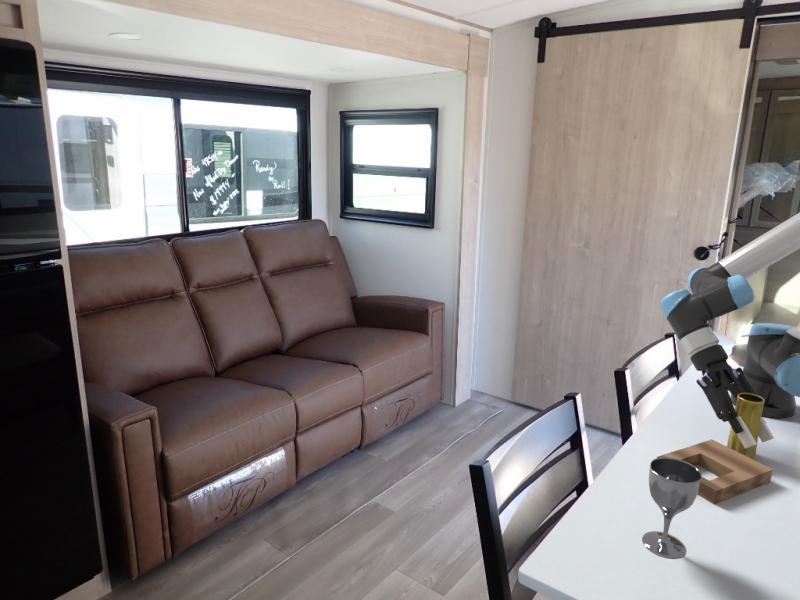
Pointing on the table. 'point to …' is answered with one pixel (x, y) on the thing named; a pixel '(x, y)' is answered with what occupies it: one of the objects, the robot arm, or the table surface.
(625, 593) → the table surface
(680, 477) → the wine glass
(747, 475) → the frame
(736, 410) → the vase
